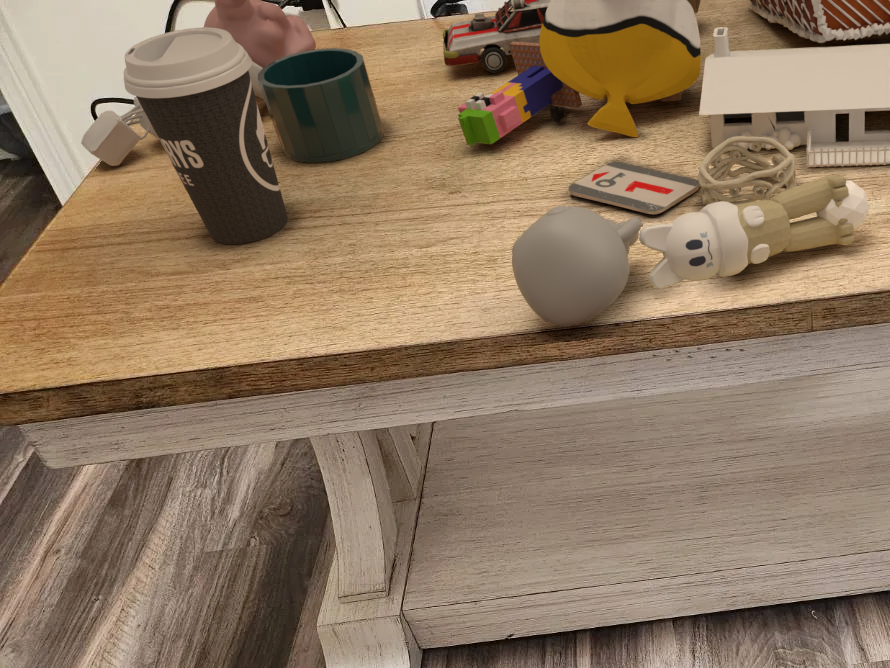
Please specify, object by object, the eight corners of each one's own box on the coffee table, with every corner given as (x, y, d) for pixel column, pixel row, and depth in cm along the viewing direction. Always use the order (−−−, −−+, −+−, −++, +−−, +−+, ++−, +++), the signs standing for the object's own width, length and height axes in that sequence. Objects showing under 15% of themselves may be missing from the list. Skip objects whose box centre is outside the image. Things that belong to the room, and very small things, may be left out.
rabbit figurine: (886, 240, 83) (663, 302, 79) (831, 226, 92) (626, 282, 88) (877, 166, 81) (647, 227, 77) (821, 159, 90) (610, 213, 85)
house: (695, 186, 94) (686, 100, 89) (720, 79, 111) (714, 1, 106) (995, 177, 92) (1004, 87, 86) (974, 68, 108) (980, -13, 103)
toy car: (447, 55, 122) (429, -19, 116) (609, 32, 123) (599, -43, 118) (448, 81, 116) (429, 4, 111) (618, 56, 118) (608, -21, 112)
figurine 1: (322, 94, 116) (282, -30, 108) (214, 107, 115) (166, -16, 107) (332, 64, 122) (296, -56, 114) (231, 76, 122) (187, -43, 114)
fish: (562, -136, 96) (731, -92, 99) (552, -56, 108) (703, -20, 111) (532, 86, 95) (703, 123, 98) (526, 140, 107) (678, 172, 110)
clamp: (283, 93, 116) (254, 27, 111) (298, 102, 114) (268, 35, 109) (99, 175, 109) (59, 108, 104) (111, 186, 107) (70, 118, 102)
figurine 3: (627, 164, 82) (553, 195, 72) (688, 249, 84) (624, 291, 74) (556, 227, 87) (477, 264, 77) (615, 307, 88) (545, 354, 78)
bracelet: (686, 146, 92) (708, 185, 86) (777, 124, 93) (806, 162, 87) (693, 191, 95) (715, 232, 89) (782, 170, 96) (810, 209, 90)
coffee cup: (233, 196, 100) (164, 22, 89) (326, 203, 97) (266, 24, 87) (168, 249, 93) (85, 67, 83) (266, 257, 91) (193, 71, 81)
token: (654, 212, 90) (561, 187, 95) (654, 217, 90) (561, 192, 95) (705, 180, 94) (614, 157, 99) (705, 185, 95) (614, 162, 99)
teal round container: (302, 172, 103) (276, 96, 98) (270, 140, 109) (244, 67, 104) (399, 141, 106) (378, 67, 101) (362, 112, 112) (341, 40, 107)
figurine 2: (566, 45, 104) (480, 100, 97) (582, 104, 108) (500, 162, 101) (513, 41, 107) (426, 95, 101) (530, 99, 111) (448, 154, 105)
